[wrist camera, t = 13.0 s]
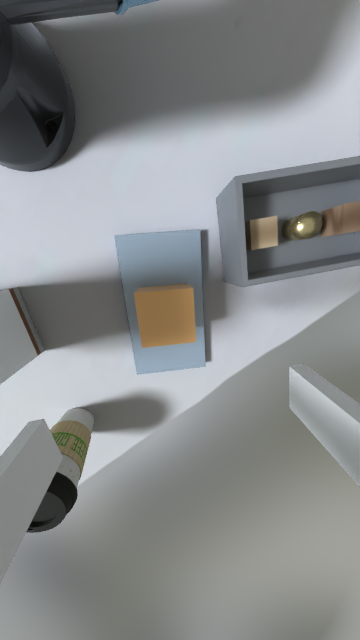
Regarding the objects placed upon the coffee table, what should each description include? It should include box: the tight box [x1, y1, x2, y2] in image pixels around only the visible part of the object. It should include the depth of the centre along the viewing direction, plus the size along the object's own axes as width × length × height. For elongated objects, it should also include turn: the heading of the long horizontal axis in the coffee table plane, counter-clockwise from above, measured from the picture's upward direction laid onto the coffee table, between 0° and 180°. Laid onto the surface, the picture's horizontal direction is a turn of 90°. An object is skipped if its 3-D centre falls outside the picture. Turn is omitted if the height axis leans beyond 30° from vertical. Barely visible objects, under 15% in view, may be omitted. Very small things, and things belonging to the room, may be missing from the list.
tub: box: [216, 156, 360, 287], centre depth 28 cm, size 13×24×8 cm, turn 100°
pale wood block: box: [245, 216, 278, 251], centre depth 29 cm, size 4×4×4 cm
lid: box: [114, 230, 206, 375], centre depth 31 cm, size 13×24×8 cm, turn 4°
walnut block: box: [321, 201, 360, 237], centre depth 30 cm, size 4×4×4 cm
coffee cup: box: [27, 408, 94, 533], centre depth 32 cm, size 10×10×15 cm
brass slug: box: [282, 211, 322, 241], centre depth 30 cm, size 4×4×4 cm
